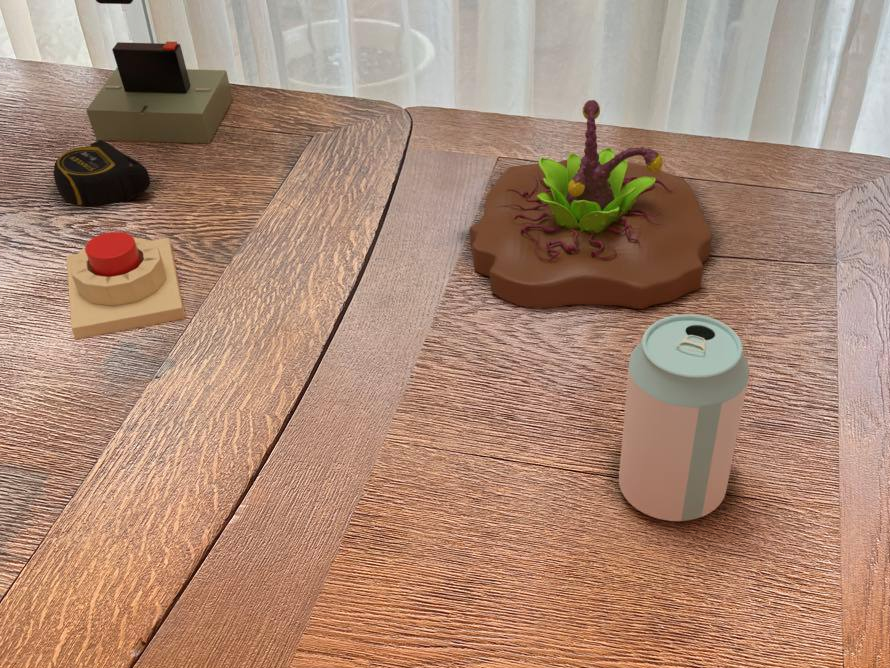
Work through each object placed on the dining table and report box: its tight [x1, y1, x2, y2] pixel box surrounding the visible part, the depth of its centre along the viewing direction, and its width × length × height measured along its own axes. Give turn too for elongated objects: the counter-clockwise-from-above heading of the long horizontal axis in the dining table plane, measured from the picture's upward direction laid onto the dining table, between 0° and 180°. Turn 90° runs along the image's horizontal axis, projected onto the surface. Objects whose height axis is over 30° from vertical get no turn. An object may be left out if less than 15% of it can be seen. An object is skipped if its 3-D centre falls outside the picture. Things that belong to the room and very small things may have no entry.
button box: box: [65, 237, 186, 340], centre depth 80 cm, size 10×8×4 cm
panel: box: [85, 66, 234, 144], centre depth 100 cm, size 11×10×3 cm
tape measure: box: [52, 140, 151, 208], centre depth 90 cm, size 7×7×4 cm
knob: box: [111, 41, 191, 93], centre depth 97 cm, size 6×2×4 cm, turn 87°
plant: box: [469, 99, 713, 310], centre depth 83 cm, size 20×20×11 cm
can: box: [618, 313, 750, 522], centre depth 64 cm, size 7×7×12 cm
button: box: [84, 231, 141, 277], centre depth 78 cm, size 4×4×2 cm
